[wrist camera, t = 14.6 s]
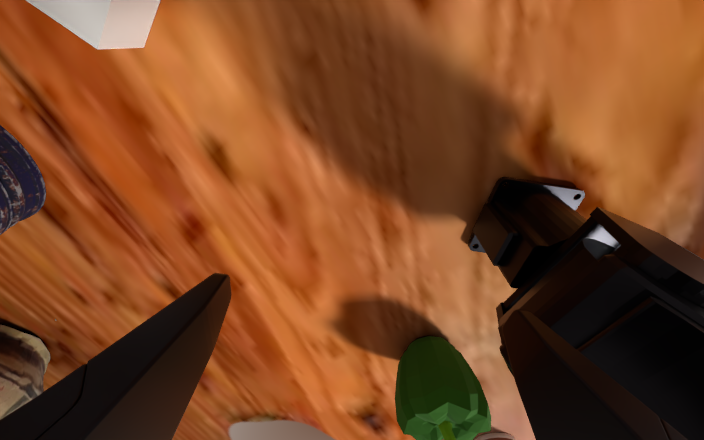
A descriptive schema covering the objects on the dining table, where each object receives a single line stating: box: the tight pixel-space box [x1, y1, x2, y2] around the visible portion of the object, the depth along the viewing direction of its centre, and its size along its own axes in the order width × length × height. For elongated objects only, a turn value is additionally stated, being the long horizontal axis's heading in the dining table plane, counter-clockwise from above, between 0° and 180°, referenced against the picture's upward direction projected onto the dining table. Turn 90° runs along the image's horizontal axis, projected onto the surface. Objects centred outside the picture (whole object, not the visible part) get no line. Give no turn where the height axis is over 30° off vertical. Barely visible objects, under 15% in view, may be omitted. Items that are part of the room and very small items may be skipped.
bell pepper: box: [395, 336, 491, 440], centre depth 28 cm, size 8×8×10 cm
